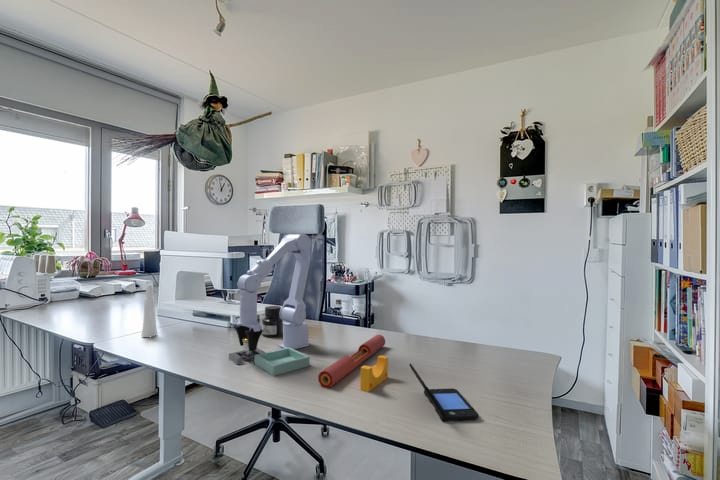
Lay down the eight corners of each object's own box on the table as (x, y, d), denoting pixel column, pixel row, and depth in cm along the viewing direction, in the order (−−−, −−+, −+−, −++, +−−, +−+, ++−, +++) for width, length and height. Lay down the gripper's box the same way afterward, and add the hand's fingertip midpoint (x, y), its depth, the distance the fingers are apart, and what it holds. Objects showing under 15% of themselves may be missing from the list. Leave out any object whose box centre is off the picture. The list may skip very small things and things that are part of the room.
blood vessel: (332, 390, 97) (333, 372, 97) (317, 386, 100) (317, 369, 100) (385, 348, 136) (385, 335, 135) (373, 346, 138) (373, 333, 138)
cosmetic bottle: (158, 333, 152) (158, 283, 152) (156, 336, 146) (157, 285, 146) (142, 334, 149) (142, 283, 149) (139, 338, 144) (140, 285, 144)
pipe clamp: (375, 374, 108) (375, 354, 108) (387, 377, 106) (387, 356, 106) (355, 388, 98) (355, 366, 98) (368, 392, 96) (368, 369, 96)
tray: (289, 355, 125) (289, 347, 125) (309, 365, 115) (309, 356, 115) (254, 364, 116) (254, 355, 116) (273, 376, 106) (273, 366, 106)
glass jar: (251, 355, 124) (251, 336, 124) (256, 358, 121) (256, 338, 121) (239, 358, 121) (239, 338, 121) (244, 361, 118) (244, 341, 118)
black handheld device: (480, 422, 81) (481, 383, 81) (423, 424, 80) (423, 385, 80) (456, 392, 96) (456, 360, 96) (408, 394, 95) (408, 361, 95)
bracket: (256, 352, 128) (256, 347, 128) (265, 357, 122) (265, 352, 122) (228, 358, 121) (228, 353, 121) (236, 364, 115) (237, 359, 115)
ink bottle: (257, 335, 151) (257, 307, 151) (272, 330, 158) (273, 304, 158) (272, 338, 145) (272, 310, 145) (287, 334, 152) (288, 307, 152)
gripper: (229, 307, 124) (228, 345, 124) (246, 313, 113) (245, 355, 113) (248, 304, 128) (247, 341, 128) (266, 311, 118) (265, 351, 118)
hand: (247, 347), depth 121 cm, fingers open, 7 cm apart
